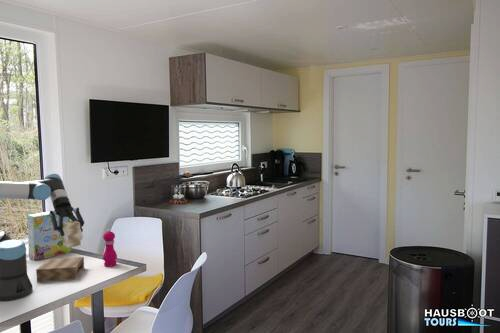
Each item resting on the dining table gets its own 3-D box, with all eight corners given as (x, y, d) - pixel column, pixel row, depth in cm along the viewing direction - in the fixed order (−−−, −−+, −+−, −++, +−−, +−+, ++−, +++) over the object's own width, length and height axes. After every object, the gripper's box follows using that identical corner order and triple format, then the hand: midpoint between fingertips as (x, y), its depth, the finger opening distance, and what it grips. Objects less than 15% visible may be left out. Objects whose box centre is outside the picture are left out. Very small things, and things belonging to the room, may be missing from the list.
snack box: (35, 261, 220) (32, 216, 218) (28, 258, 225) (25, 214, 223) (72, 251, 237) (70, 210, 235) (65, 249, 243) (63, 208, 241)
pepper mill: (105, 268, 207) (103, 231, 206) (101, 264, 213) (100, 228, 212) (118, 265, 211) (117, 229, 210) (115, 262, 217) (113, 226, 216)
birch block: (67, 247, 180) (66, 224, 179) (62, 245, 184) (61, 222, 184) (80, 245, 184) (79, 222, 184) (75, 242, 189) (75, 220, 188)
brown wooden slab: (36, 281, 189) (36, 269, 189) (47, 270, 205) (47, 259, 205) (76, 278, 192) (75, 267, 192) (84, 268, 208) (83, 257, 208)
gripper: (78, 203, 201) (92, 240, 190) (37, 207, 187) (50, 248, 177) (82, 194, 197) (96, 231, 186) (41, 198, 183) (54, 238, 173)
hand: (74, 239), depth 182 cm, fingers closed on birch block, 6 cm apart
